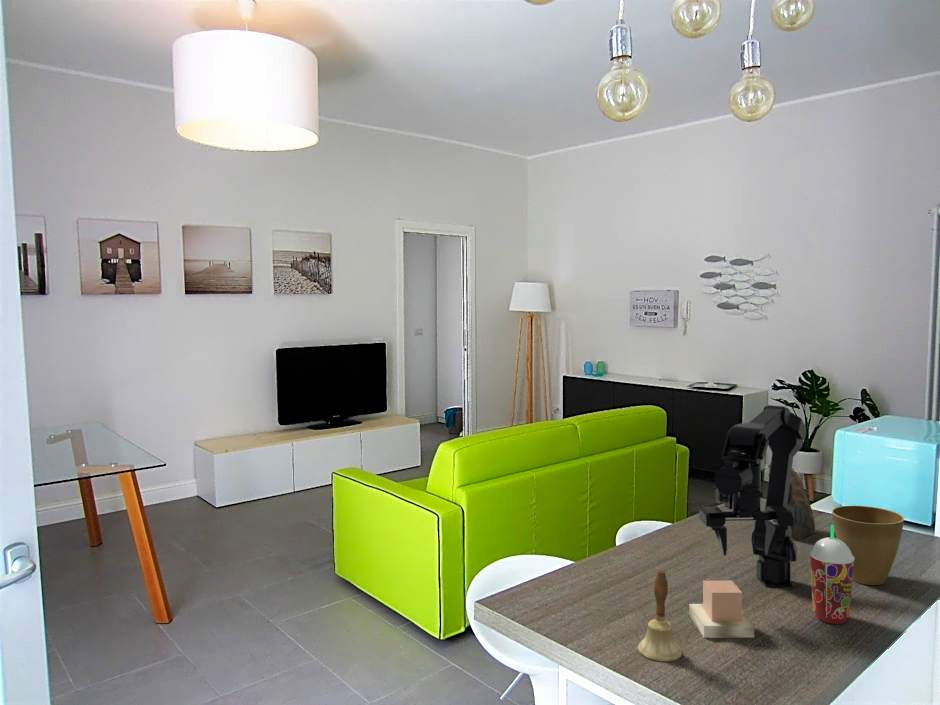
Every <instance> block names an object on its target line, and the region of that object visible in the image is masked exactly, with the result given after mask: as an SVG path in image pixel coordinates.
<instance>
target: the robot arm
mask: <svg viewBox="0 0 940 705" xmlns="http://www.w3.org/2000/svg"><path fill="white" fill-rule="evenodd" d="M806 436H807V427H806V425H805V423H804V421H803V419H802V418H801V417H799V416H798V415H796V414H795V413H793V412H791V410H790V409H789V407H786V406H784V405H772V404H768V405H766V406H765V405H764V408H763V410H762V411H761V412H760V413H759V414H757V415H756V416H755V417H754V418H753V419H751V420H750V421H748V422H746V423H737V424H735V425H733V426H732V427H731V428H730V429H729V430H728V431H727V432H726V436H725V439H724V443H723V446H722V451H721V455H720V459H721V460H725V461H723V467H720V468H719V469H718V470H717V471H716V472H715V475H714V478H713V480H714V484H715V487H716V488H715V491H714V492H715V495H714V496H715V497H714V498H715V502H716V504H723V507H724V508H727V509H728V510H731V511H723V510H722V509H721V508H719V507H718V506H701V508H700V509H699V511H698V519H699V520H700V521H701V523H703V524H704V525H705V527H708V528H710V529H711V530H712V531H713V532H714V534H715V535H716V538H717V540H718V544H719V548H720V549H721V553H722V555H723V556H725V557H726V556H727V551H728V529H727V527H726V526H725V524H726V523H727V521H729V522H730V521H731V522H732V521H736V522H737V521H738V522H739V521H755V522H754V529H753V530H752V532H751V539H750V540H751V545H752V554H753V555H754V556H758V560H756V573H755V577H756V578H757V579H758V580H759V581H760V582H761V583H762V584H763V585H764V586H765V587H794V583H793V581H791V567H792V566H791V564H792V562H797V556H798V547H797V545H796V543H795V540H793V538H792V537H791V535H792V530H791V527H790V526H794V525H795V517H794V514H793V513H792V512H791V511H789V510H788V509H787V503H788V495H789V487H790V479H791V470H792V469H793V460H794V457H795V455H796V454H798V452H799V451H800V450H801V449H802V448H803V444H804V440H805V439H806ZM768 447H769V449H770V451H771V460H770V463H771V467H770V469H769V471H770V475H769V474H768V475H769V476H768V484H767V490H766V491H767V492H766V500H765V507H764V510H762V509H761V498H763V497H764V496H763V495H764V494H763V493H764V492H763V491H762V490H761V489H762V488H761V486H762V484H761V483H762V482H761V481H762V479H761V477H762V465H761V463H762V462H761V461H763V460H764V458H765V456H766V453H767V450H768Z"/></svg>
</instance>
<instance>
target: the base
mask: <svg viewBox="0 0 940 705" xmlns="http://www.w3.org/2000/svg"><path fill="white" fill-rule="evenodd" d="M688 608H689V612H688V615H690V616H689V617H690V618H691V619H690V620H692V622H693V623H694V625H695V626H696V628H697V629H698V631H699V633H700V634H701V636H702V637H703V638H704V639H713V638H714V639H715V638H716V639H719V638H721V639H722V638H724V639H725V638H727V639H729V638H730V639H731V638H735V639H736V638H737V639H739V638H755V624H754V623H753V622H752V620H750V618H749V617H748V616H747V614H746V613H745V612H744V610H742V621H711V619H710V618H709V616H708V615H707V613H706V612H705V610H704V609H703V603H689V607H688Z"/></svg>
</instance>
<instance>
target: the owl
mask: <svg viewBox="0 0 940 705" xmlns="http://www.w3.org/2000/svg"><path fill="white" fill-rule="evenodd" d="M767 467H768V469H769V471H768V477H769V475H770V467H771V462H770V463H769V464H768V466H767ZM787 509H788V510H789V511H791V512H792V513H793V514H794V517H795V525H794V526H790V527H791V530H792V535H791V537H792V538H793V541H799V540H801V539H805V537H808V536H811V535H813V534H815V533H816V530H815V529H816V523H815V518H814V514H813V509H812V506H811V504H810V500H809V498H808V495H807V492H806V489H805V486H804V483H803V480H802V478H801V477H800V476H799V475H798V473H797V472H796V471H795V469H793V468H792V470H791V479H790V487H789V495H788V503H787Z"/></svg>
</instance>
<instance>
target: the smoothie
mask: <svg viewBox="0 0 940 705" xmlns="http://www.w3.org/2000/svg"><path fill="white" fill-rule="evenodd" d="M854 559H855V557H854V556H853V555H852V553H851V550H850V549H849V547H848V546H847V545H846V544H845V543H844V542H843V541H841V540H839V539H837V538H836V537H835V529H834V524H831V525H830V537H823V538H821V539H819V540H817V541H816V542H815V543H814V545H813V547H812V549H810V550H809V561H810V580H811V581H810V584H811V597H812V598H811V599H812V600H811V601H812V611H813V612H814V614H815V617H816V618H817V619H818V620H820V621H822V622H824V623H827V624H832V625H833V624H834V625H841V624H844V623H845V622H847V618H849V617H850V611H851V610H850V609H851V608H850V607H851V599H852V598H851V597H852V587H853V586H852V585H853V580H852V578H853V567H854Z"/></svg>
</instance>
